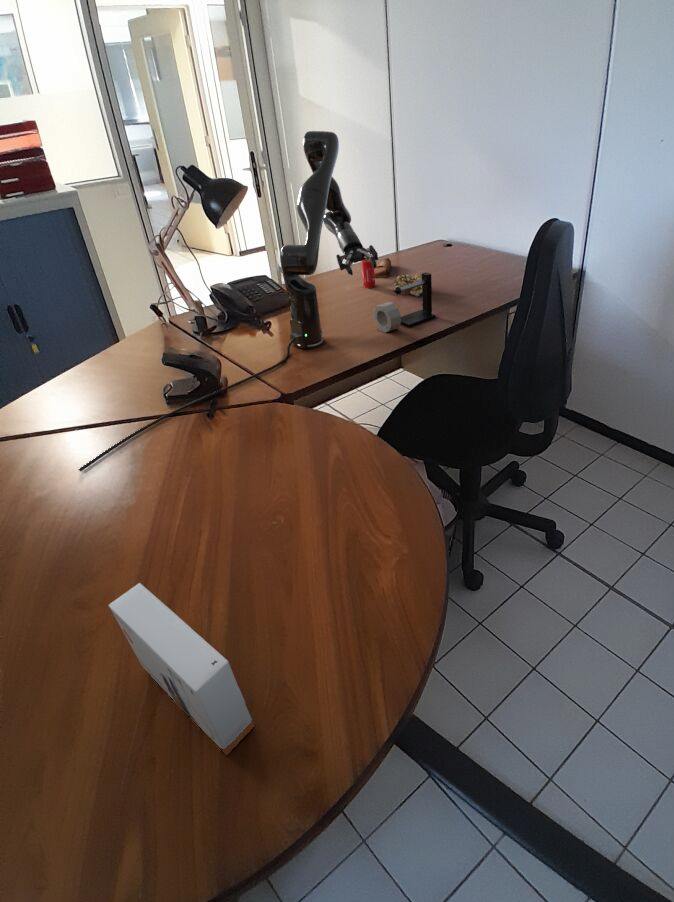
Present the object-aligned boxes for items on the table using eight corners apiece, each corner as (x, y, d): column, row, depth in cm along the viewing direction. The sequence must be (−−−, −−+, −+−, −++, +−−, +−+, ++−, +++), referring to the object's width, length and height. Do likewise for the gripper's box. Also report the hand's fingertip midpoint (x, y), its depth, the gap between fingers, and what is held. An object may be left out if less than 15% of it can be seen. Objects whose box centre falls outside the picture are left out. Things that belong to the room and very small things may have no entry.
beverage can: (370, 289, 234) (368, 261, 227) (361, 287, 236) (358, 259, 230) (377, 285, 237) (376, 258, 231) (368, 283, 240) (366, 256, 234)
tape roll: (391, 335, 190) (389, 309, 185) (374, 328, 196) (372, 302, 191) (401, 331, 192) (400, 305, 188) (384, 324, 199) (383, 299, 194)
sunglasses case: (373, 265, 262) (379, 252, 259) (386, 272, 264) (392, 260, 261) (370, 276, 247) (377, 263, 244) (384, 284, 248) (391, 271, 245)
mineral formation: (424, 298, 220) (388, 294, 223) (430, 293, 232) (396, 289, 235) (425, 278, 217) (389, 274, 220) (432, 273, 229) (397, 270, 232)
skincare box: (140, 673, 83) (106, 603, 75) (172, 647, 87) (142, 578, 78) (224, 761, 72) (194, 691, 63) (256, 728, 75) (233, 656, 67)
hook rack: (404, 329, 194) (402, 285, 186) (390, 323, 199) (387, 280, 191) (436, 317, 202) (436, 275, 194) (422, 312, 208) (421, 270, 200)
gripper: (329, 240, 196) (342, 266, 187) (366, 229, 199) (381, 255, 190) (333, 257, 202) (345, 283, 193) (369, 246, 205) (383, 272, 196)
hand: (363, 269), depth 191 cm, fingers open, 8 cm apart
